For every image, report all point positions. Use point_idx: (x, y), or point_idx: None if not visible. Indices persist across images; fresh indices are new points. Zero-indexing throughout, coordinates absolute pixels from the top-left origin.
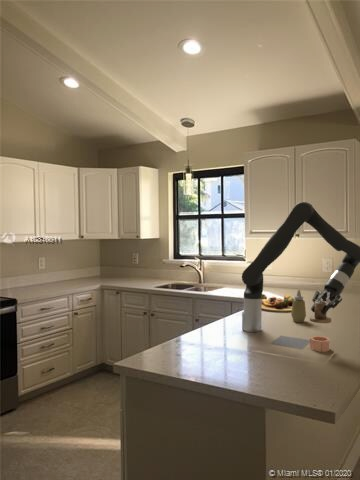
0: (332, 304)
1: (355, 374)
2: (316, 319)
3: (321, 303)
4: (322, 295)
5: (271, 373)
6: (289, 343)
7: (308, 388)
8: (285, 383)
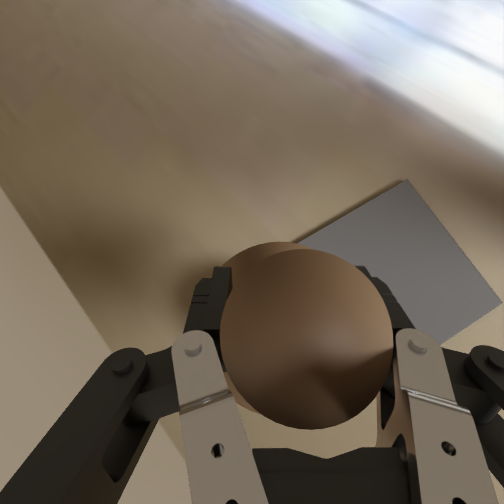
0: (103, 375)
1: (24, 222)
2: (261, 259)
3: (265, 309)
4: (422, 499)
5: (174, 28)
6: (379, 252)
7: (47, 42)
8: (103, 18)
